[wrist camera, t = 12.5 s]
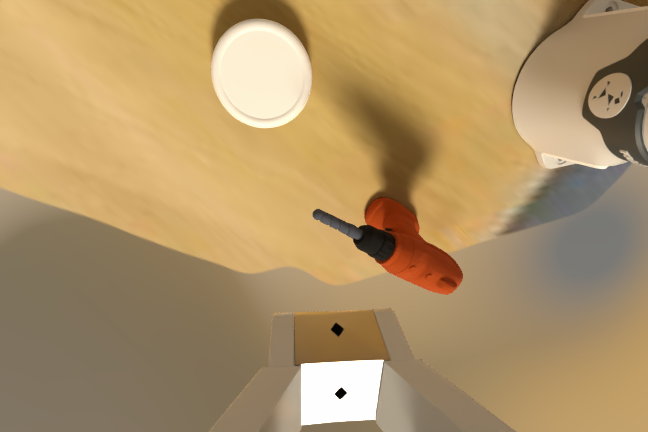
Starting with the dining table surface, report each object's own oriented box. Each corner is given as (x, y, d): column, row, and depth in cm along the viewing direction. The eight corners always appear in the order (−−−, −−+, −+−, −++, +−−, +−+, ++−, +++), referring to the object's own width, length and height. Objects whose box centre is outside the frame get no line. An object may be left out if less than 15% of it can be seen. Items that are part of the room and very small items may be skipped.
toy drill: (305, 147, 36) (338, 204, 23) (419, 214, 44) (491, 283, 31) (284, 182, 38) (304, 254, 25) (398, 241, 46) (458, 318, 33)
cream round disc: (205, 29, 32) (196, 24, 29) (303, 17, 33) (304, 11, 29) (229, 129, 36) (224, 135, 33) (316, 117, 37) (318, 121, 34)
